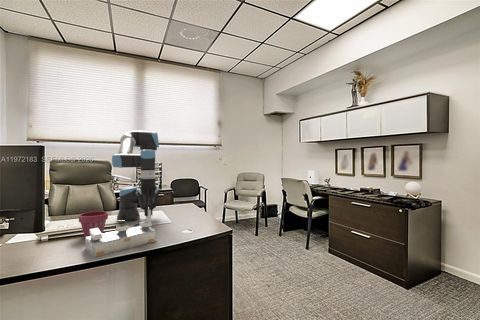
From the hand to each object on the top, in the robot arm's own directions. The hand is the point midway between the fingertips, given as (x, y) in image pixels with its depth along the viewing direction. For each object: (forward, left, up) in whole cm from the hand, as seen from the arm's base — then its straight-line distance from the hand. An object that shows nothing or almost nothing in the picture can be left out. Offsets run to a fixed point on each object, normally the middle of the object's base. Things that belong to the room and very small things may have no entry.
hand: (148, 221), depth 126 cm
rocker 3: (-4, 0, -2) cm, 5 cm away
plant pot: (-31, -19, -11) cm, 38 cm away
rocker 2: (-4, -12, -2) cm, 13 cm away
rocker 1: (-4, -24, -2) cm, 24 cm away
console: (-4, -12, -11) cm, 16 cm away
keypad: (-24, +4, -11) cm, 27 cm away
